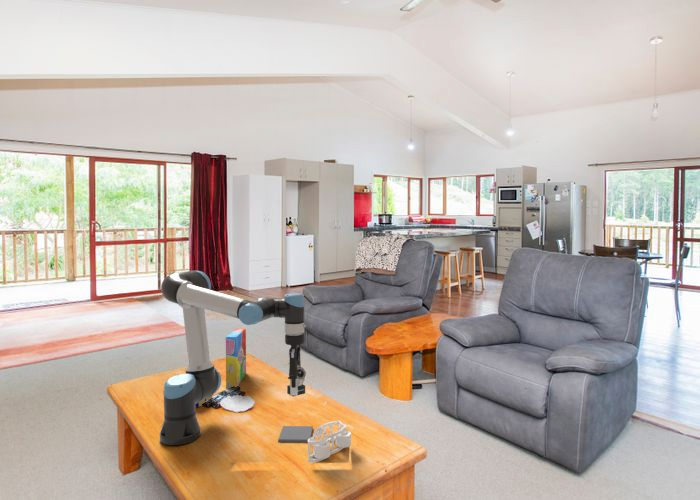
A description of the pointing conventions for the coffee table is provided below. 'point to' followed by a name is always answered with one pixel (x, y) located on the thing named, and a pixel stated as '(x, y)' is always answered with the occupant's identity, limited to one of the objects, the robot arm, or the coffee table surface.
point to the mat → (295, 433)
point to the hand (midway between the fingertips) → (295, 391)
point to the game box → (235, 357)
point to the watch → (299, 381)
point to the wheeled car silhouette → (328, 441)
